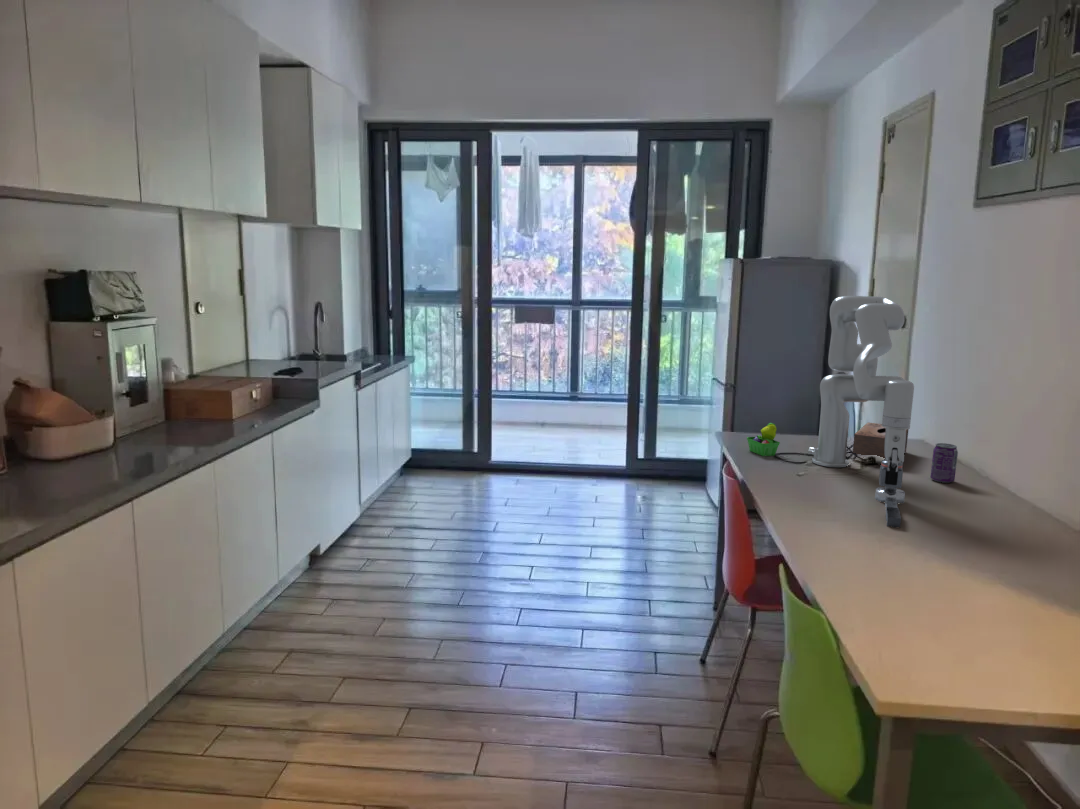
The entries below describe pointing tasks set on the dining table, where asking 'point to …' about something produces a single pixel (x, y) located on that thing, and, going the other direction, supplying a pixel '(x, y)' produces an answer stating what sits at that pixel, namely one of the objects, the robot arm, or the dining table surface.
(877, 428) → the tissue box cover
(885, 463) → the grey domed block
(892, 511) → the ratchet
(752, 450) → the fruit basket
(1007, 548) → the dining table surface
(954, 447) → the beverage can
